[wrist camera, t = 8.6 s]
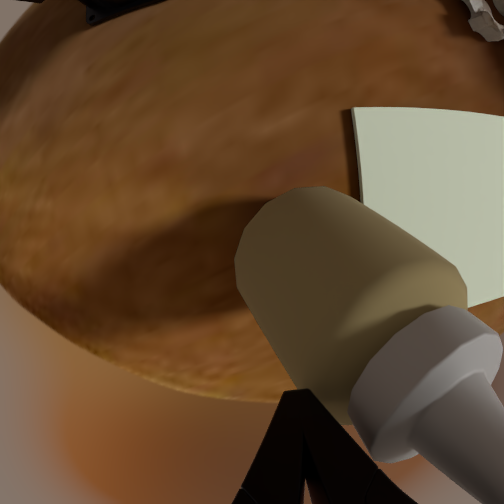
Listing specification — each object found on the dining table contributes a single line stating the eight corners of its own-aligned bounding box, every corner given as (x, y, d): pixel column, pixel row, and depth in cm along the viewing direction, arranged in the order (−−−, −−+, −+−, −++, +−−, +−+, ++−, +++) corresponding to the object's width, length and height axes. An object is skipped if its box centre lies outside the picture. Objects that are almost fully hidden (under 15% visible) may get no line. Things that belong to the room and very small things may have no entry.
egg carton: (474, 45, 14) (505, 36, 10) (432, -31, 12) (456, -49, 8) (532, 43, 13) (559, 39, 9) (500, -22, 10) (523, -32, 6)
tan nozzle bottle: (304, 151, 17) (662, 241, 1) (365, 248, 20) (582, 415, 4) (198, 235, 18) (259, 631, 1) (276, 320, 21) (401, 572, 4)
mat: (361, 329, 22) (363, 333, 21) (350, 108, 17) (353, 107, 16) (527, 283, 21) (530, 286, 20) (537, 124, 15) (541, 124, 15)
